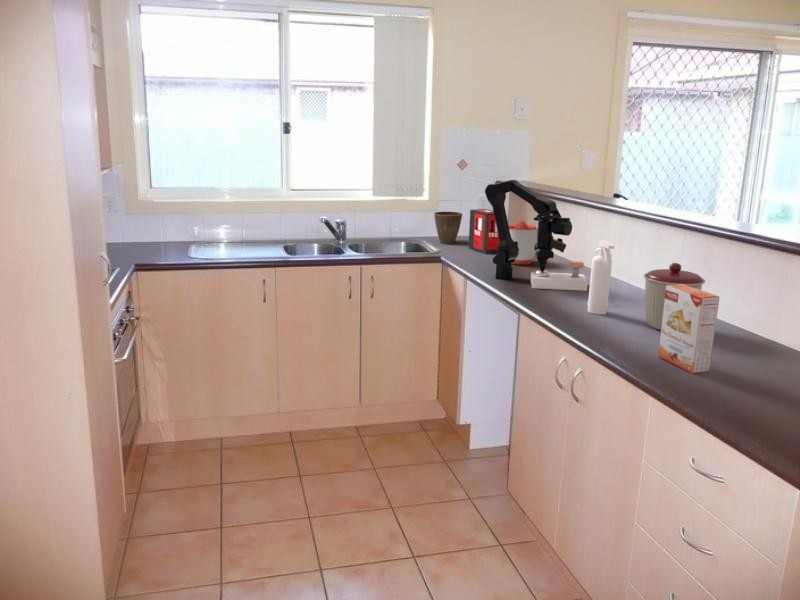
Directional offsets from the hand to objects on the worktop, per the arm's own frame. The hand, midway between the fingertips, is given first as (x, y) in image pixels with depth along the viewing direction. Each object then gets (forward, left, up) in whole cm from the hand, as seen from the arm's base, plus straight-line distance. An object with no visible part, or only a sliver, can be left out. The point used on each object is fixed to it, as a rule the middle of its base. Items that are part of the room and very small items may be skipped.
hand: (542, 271), depth 273 cm
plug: (0, 0, -5) cm, 5 cm away
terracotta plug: (+13, 0, -1) cm, 13 cm away
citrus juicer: (-6, +45, -6) cm, 46 cm away
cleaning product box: (-23, +73, -6) cm, 77 cm away
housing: (+6, 0, -6) cm, 9 cm away
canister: (+36, -53, -6) cm, 64 cm away
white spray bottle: (+16, -37, -6) cm, 41 cm away
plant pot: (-43, +92, -6) cm, 102 cm away
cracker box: (+31, -89, -6) cm, 94 cm away
